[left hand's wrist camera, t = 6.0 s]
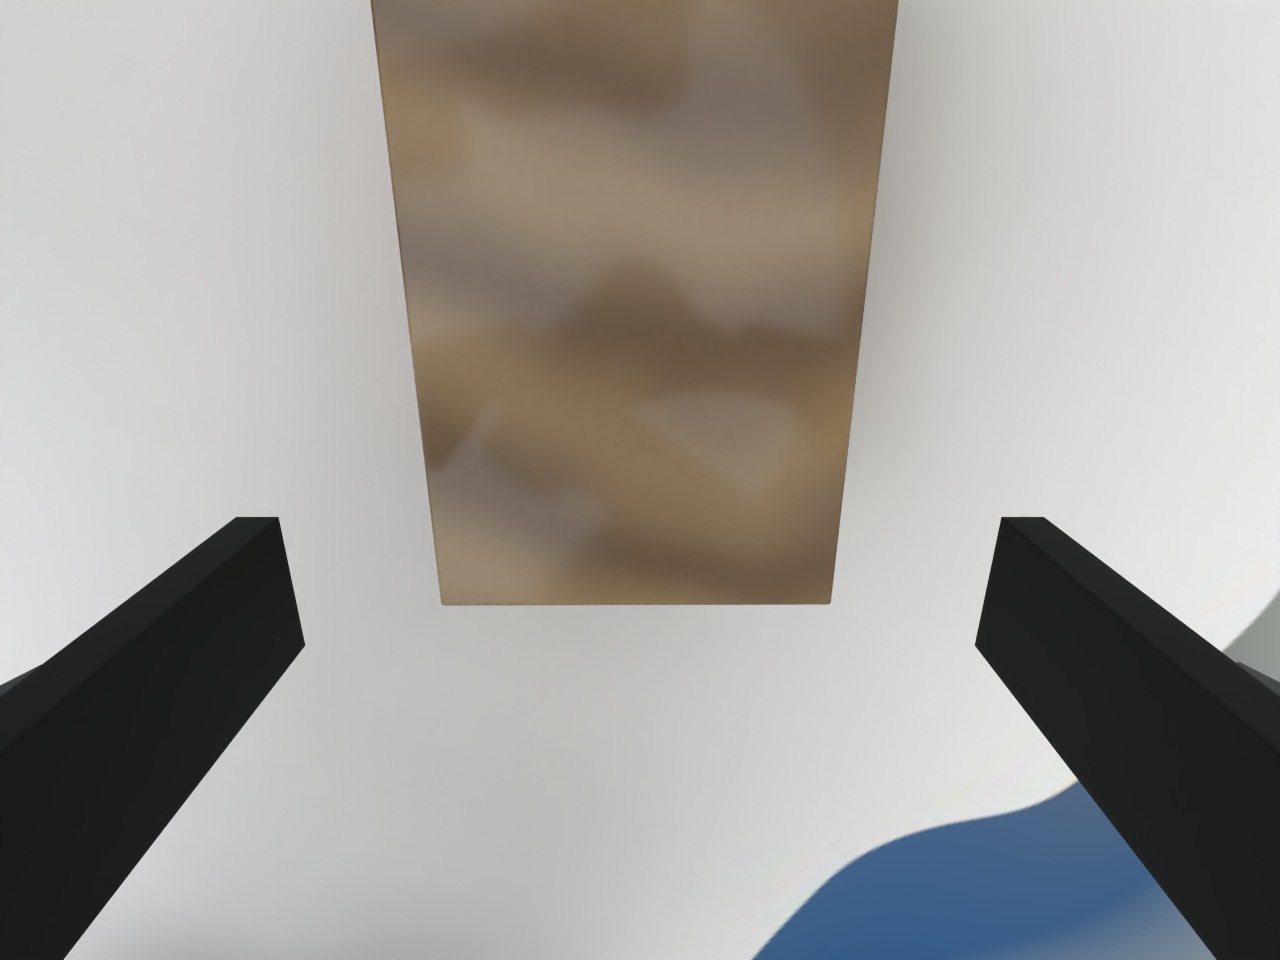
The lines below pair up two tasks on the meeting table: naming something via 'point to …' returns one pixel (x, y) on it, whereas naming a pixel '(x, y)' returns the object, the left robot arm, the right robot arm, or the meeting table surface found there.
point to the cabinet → (635, 287)
